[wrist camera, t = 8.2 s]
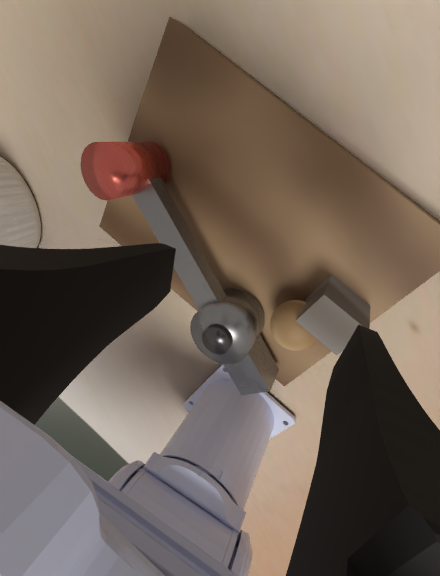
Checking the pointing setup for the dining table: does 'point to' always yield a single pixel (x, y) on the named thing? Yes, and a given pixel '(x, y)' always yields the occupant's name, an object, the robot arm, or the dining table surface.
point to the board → (275, 205)
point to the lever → (186, 260)
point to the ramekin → (17, 210)
